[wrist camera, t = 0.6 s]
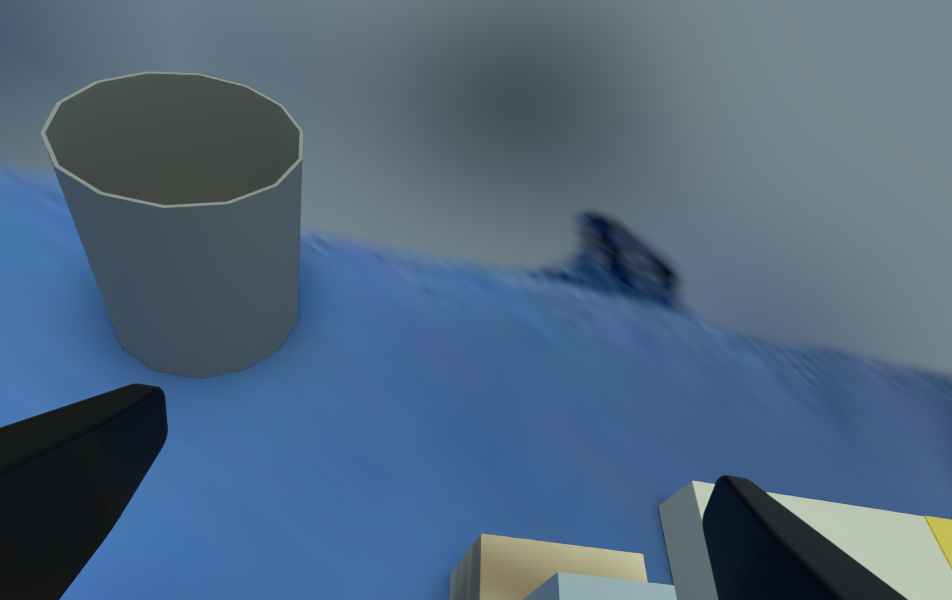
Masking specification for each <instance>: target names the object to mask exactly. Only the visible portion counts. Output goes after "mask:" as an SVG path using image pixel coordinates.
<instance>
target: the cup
mask: <svg viewBox="0 0 952 600" xmlns="http://www.w3.org/2000/svg"><path fill="white" fill-rule="evenodd" d="M41 135H42V138H43V141H44V143H45V146H46V149H47V151H48V154H49V157H50V159H51V162H52V165H53V167H54V170H55V173H56V175H57V178H58V181H59V183H60V186H61V189H62V191H63V194H64V197H65V199H66V202H67V205H68V207H69V210H70V213H71V215H72V218H73V221H74V223H75V226H76V229H77V231H78V234H79V237H80V239H81V242H82V245H83V247H84V250H85V253H86V255H87V258H88V261H89V263H90V266H91V269H92V271H93V274H94V277H95V279H96V282H97V285H98V287H99V290H100V293H101V295H102V298H103V301H104V303H105V306H106V308H107V311H108V314H109V316H110V319H111V322H112V324H113V327H114V329H115V331H116V334H117V336H118V339H119V341H120V344H121V346H122V349H123V350H124V351H126V352H127V353H129V354H130V355H132V356H133V357H135V358H136V359H138V360H139V361H141V362H142V363H144V364H145V365H147V366H148V367H150V368H151V369H153V370H154V371H157V372H163V373H169V374H175V375H182V376H188V377H194V378H205V377H210V376H215V375H221V374H226V373H231V372H237V371H242V370H245V369H247V368H249V367H250V366H252V365H254V364H255V363H257V362H259V361H261V360H262V359H264V358H266V357H267V356H269V355H271V354H272V353H274V352H276V351H277V350H279V349H280V347H281V346H282V344H283V343H284V341H285V340H286V339H287V337H288V336H289V334H290V333H291V331H292V330H293V328H294V327H295V325H296V324H297V322H298V289H299V253H300V218H301V182H302V146H303V144H302V143H303V131H302V129H301V128H300V127H299V126H298V124H297V123H296V122H295V120H294V119H293V118H292V117H291V115H290V114H289V113H288V112H287V110H286V109H285V108H284V106H283V105H281V104H279V103H277V102H276V101H274V100H272V99H270V98H268V97H266V96H265V95H263V94H261V93H259V92H257V91H256V90H254V89H252V88H250V87H248V86H247V85H242V84H238V83H235V82H231V81H227V80H223V79H219V78H215V77H211V76H207V75H203V74H195V73H169V72H168V73H167V72H143V73H138V74H132V75H127V76H121V77H116V78H110V79H105V80H100V81H96V82H94V83H92V84H90V85H88V86H86V87H85V88H83V89H81V90H79V91H77V92H75V93H73V94H72V95H70V96H68V97H66V98H64V99H62V100H60V101H58V102H57V104H56V105H55V107H54V109H53V111H52V113H51V114H50V116H49V118H48V120H47V122H46V123H45V125H44V127H43V129H42V131H41Z"/></svg>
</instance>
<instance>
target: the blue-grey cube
mask: <svg viewBox="0 0 952 600" xmlns="http://www.w3.org/2000/svg"><path fill="white" fill-rule="evenodd" d="M522 600H677V597H676V592H675V587H674V585H665V584H657V583H648V582H640V581H631V580H623V579H614V578H606V577H597V576H589V575H580V574H572V573H563V572H557V573H556V574H554V575H553V576H552V577H551V578H549V579H548V580H547V581H545V582H544V583H543V584H542V585H540V586H539V587H538V588H537V589H535V590H534V591H533V592H531V593H530V594H529V595H528V596H526V597H525V598H524V599H522Z"/></svg>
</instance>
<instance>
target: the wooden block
mask: <svg viewBox="0 0 952 600" xmlns="http://www.w3.org/2000/svg"><path fill="white" fill-rule="evenodd" d="M557 572H563V573H572V574H580V575H589V576H597V577H606V578H614V579H623V580H631V581H640V582H647V576H646V570H645V564H644V558H643V554H638V553H630V552H622V551H615V550H607V549H599V548H591V547H583V546H575V545H567V544H559V543H551V542H543V541H535V540H527V539H519V538H511V537H504V536H496V535H488V534H481V535H480V536H479V537H478V539H477V540H476V541H475V542H474V544H473V545H472V546H471V548H470V549H469V550H468V551H467V553H466V554H465V555H464V556H463V558H462V559H461V560H460V562H459V563H458V564H457V565H456V567H455V568H454V569H453V570H452V572H451V578H450V596H449V600H522V599H524V598H525V597H526V596H528V595H529V594H530V593H531V592H533V591H534V590H535V589H537V588H538V587H539V586H540V585H542V584H543V583H544V582H545V581H547V580H548V579H549V578H551V577H552V576H553V575H554V574H556V573H557Z"/></svg>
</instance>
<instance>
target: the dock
mask: <svg viewBox="0 0 952 600" xmlns="http://www.w3.org/2000/svg"><path fill="white" fill-rule="evenodd" d="M714 486H715V484H710V483H703V482H697V481H691V482H690V483H688V484H687V485H686V486H684V487H683V488H682V489H680V490H679V491H678V492H676V493H675V494H674V495H672V496H671V497H670V498H668V499H667V500H665V501H664V502H663V503H661V504H660V505H659V506H658V507H659V512H660V517H661V522H662V528H663V533H664V538H665V543H666V548H667V553H668V558H669V563H670V568H671V573H672V578H673V583H674V587H675V592H676V597H677V600H718V597H717V592H716V588H715V583H714V579H713V574H712V570H711V565H710V560H709V556H708V551H707V547H706V542H705V538H704V533H703V527H702V518H703V514H704V511H705V508H706V506H707V503H708V501H709V498H710V496H711V493H712V491H713V488H714ZM766 493H767V494H769V495H770V496H771V497H773V498H774V499H775V500H777V501H778V502H779V503H781V504H782V505H783V506H785V507H786V508H787V509H789V510H790V511H791V512H792V513H794V514H795V515H796V516H798V517H799V518H800V519H802V520H803V521H804V522H806V523H807V524H808V525H810V526H811V527H812V528H814V529H815V530H816V531H818V532H819V533H820V534H822V535H823V536H824V537H826V538H827V539H828V540H830V541H831V542H832V543H834V544H835V545H836V546H838V547H839V548H840V549H842V550H843V551H844V552H846V553H847V554H848V555H850V556H851V557H852V558H854V559H855V560H856V561H857V562H859V563H860V564H861V565H863V566H864V567H865V568H867V569H868V570H869V571H871V572H872V573H873V574H875V575H876V576H877V577H879V578H880V579H881V580H883V581H884V582H885V583H887V584H888V585H889V586H891V587H892V588H893V589H895V590H896V591H897V592H899V593H900V594H901V595H903V596H904V597H905V598H907V599H908V600H952V520H950V519H943V518H937V517H930V516H917V515H911V514H904V513H898V512H891V511H885V510H878V509H872V508H865V507H859V506H852V505H846V504H839V503H833V502H826V501H820V500H813V499H807V498H800V497H794V496H788V495H781V494H775V493H768V492H766Z"/></svg>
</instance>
